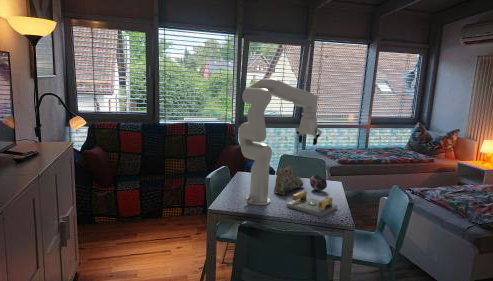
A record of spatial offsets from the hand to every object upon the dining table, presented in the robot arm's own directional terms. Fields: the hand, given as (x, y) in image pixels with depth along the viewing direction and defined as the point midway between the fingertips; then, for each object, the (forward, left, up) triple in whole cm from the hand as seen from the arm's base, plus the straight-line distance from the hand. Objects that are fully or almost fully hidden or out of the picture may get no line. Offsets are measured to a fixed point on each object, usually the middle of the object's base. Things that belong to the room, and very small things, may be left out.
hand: (307, 143), depth 202 cm
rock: (-10, +5, -29) cm, 31 cm away
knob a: (-22, -12, -27) cm, 37 cm away
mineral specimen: (+4, -7, -29) cm, 30 cm away
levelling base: (-27, -20, -29) cm, 44 cm away
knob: (-22, -27, -27) cm, 44 cm away
